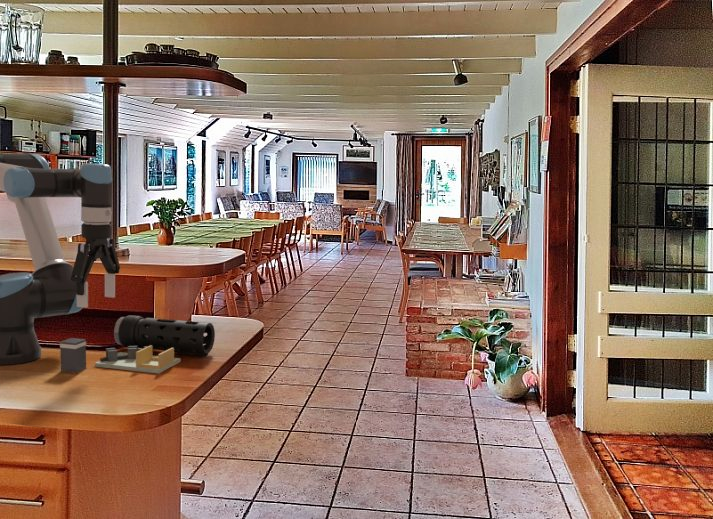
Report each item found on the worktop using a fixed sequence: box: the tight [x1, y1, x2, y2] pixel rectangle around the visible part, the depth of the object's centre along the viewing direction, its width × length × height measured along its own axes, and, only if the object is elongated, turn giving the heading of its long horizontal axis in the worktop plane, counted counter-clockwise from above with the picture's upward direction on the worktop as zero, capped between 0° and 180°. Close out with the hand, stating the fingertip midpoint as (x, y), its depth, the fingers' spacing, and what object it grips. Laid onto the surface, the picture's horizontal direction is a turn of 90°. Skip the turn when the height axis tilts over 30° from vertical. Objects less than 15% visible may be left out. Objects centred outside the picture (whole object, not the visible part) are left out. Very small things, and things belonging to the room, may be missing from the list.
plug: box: [59, 337, 87, 374], centre depth 187 cm, size 5×5×8 cm
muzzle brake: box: [113, 314, 216, 357], centre depth 207 cm, size 10×28×10 cm, turn 78°
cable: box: [99, 355, 128, 362], centre depth 195 cm, size 13×3×1 cm, turn 107°
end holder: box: [136, 345, 175, 369], centre depth 191 cm, size 7×8×4 cm
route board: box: [94, 346, 181, 375], centre depth 194 cm, size 19×12×4 cm, turn 77°
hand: (96, 301), depth 188 cm, fingers open, 13 cm apart
